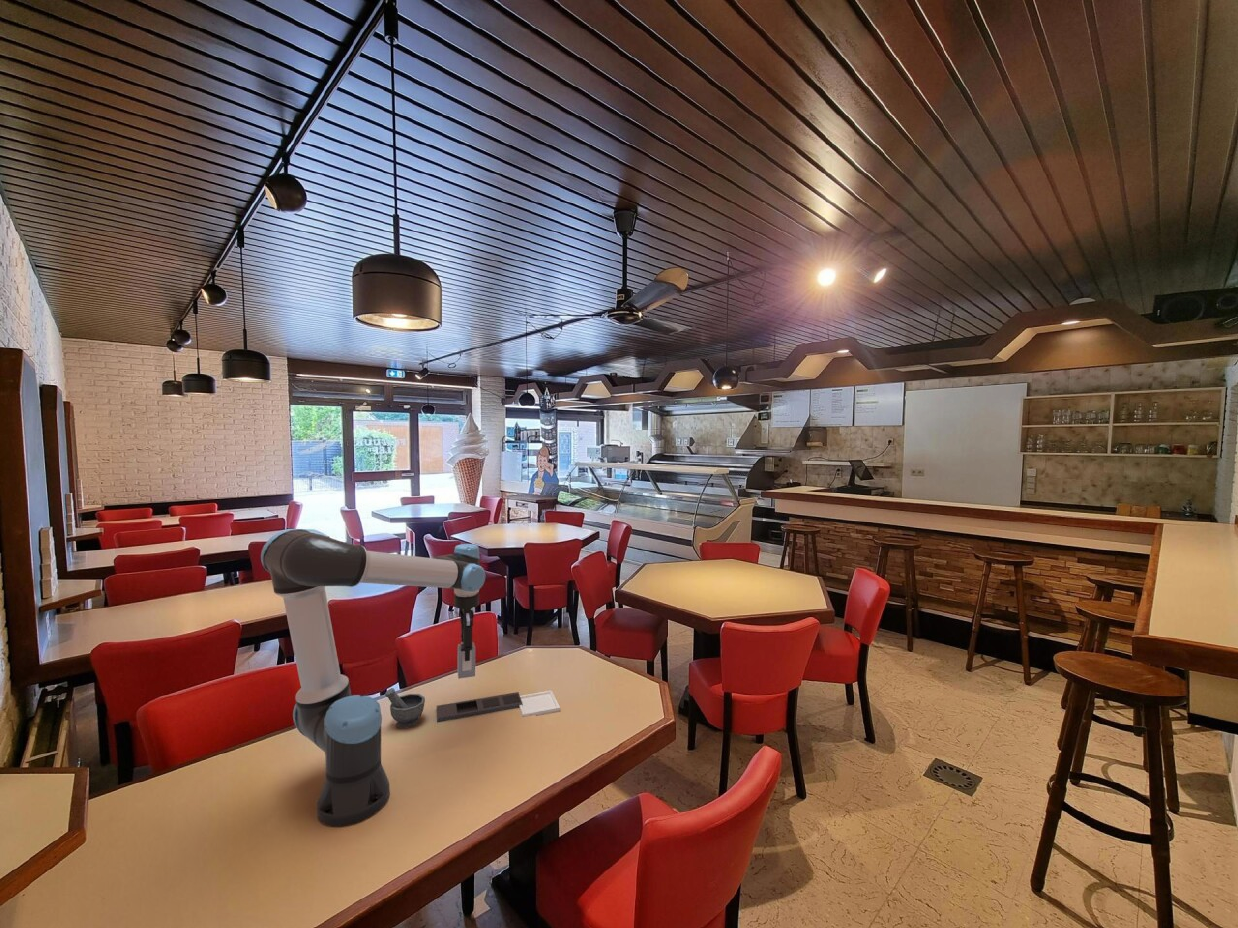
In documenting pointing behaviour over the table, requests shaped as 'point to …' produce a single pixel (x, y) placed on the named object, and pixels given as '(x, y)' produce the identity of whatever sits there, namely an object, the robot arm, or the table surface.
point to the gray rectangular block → (461, 673)
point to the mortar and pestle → (405, 708)
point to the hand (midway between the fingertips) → (466, 665)
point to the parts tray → (539, 704)
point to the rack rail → (478, 706)
